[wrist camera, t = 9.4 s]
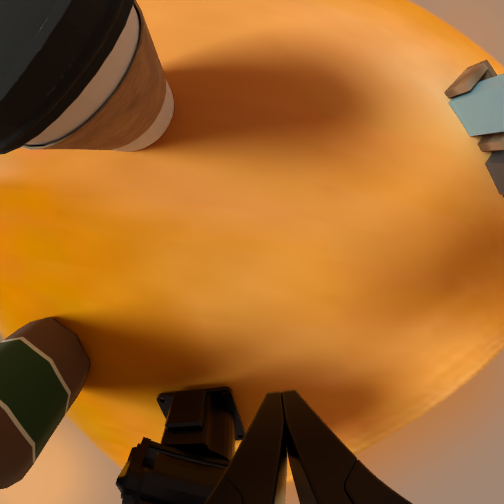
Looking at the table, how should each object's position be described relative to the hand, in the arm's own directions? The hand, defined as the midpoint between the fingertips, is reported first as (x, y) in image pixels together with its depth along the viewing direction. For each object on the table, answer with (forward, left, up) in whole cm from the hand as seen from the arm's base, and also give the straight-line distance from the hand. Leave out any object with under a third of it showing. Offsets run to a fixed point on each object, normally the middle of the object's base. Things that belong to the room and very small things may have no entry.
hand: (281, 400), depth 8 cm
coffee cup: (+13, +6, -13) cm, 19 cm away
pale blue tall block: (+10, -21, -13) cm, 26 cm away
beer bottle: (-4, +19, -13) cm, 23 cm away
